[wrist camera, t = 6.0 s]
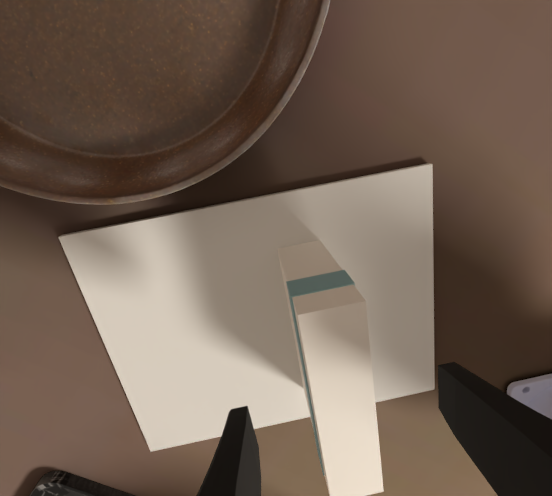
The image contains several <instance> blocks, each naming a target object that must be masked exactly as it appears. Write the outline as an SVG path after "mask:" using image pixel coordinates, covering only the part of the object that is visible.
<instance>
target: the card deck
mask: <svg viewBox="0 0 552 496" xmlns="http://www.w3.org/2000/svg"><path fill="white" fill-rule="evenodd" d="M277 250H278V255H279V261H280V266H281V271H282V277H283V282H284V287H285V292H286V298H287V303H288V308H289V314H290V319H291V324H292V330H293V335H294V340H295V346H296V351H297V356H298V361H299V367H300V372H301V377H302V383H303V388H304V392H305V396H306V400H307V405H308V409H309V413H310V417H311V421H312V425H313V429H314V434H315V440H316V445H317V451H318V455H319V459H320V463H321V467H322V472H323V475H325V479H326V483H327V487H328V492H329V496H366V495H370V494H375V493H379V492H384V491H383V480H382V469H381V459H380V448H379V437H378V426H377V416H376V405H375V394H374V383H373V373H372V362H371V351H370V341H369V330H368V319H367V308H366V300H365V299H364V298H363V296H362V295H361V294H360V293H359V291H358V290H357V289H356V287H355V283H354V281H353V280H352V279H351V277H350V276H349V275H348V274H347V272H346V271H345V270H342V269H341V267H340V266H339V265H338V263H337V262H336V261H335V259H334V258H333V257H332V255H331V254H330V253H329V251H328V250H327V249H326V247H325V246H324V245H323V243H322V242H321V241H320V240H317V241H312V242H307V243H302V244H298V245H293V246H288V247H283V248H278V249H277Z"/></svg>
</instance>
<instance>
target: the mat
mask: <svg viewBox="0 0 552 496" xmlns="http://www.w3.org/2000/svg"><path fill="white" fill-rule="evenodd" d="M58 238H59V240H60V242H61V245H62V247H63V249H64V252H65V254H66V256H67V259H68V261H69V263H70V266H71V268H72V270H73V273H74V275H75V277H76V279H77V282H78V284H79V286H80V289H81V291H82V293H83V296H84V298H85V300H86V303H87V305H88V307H89V310H90V312H91V314H92V317H93V319H94V321H95V323H96V326H97V328H98V330H99V333H100V335H101V337H102V340H103V342H104V344H105V347H106V349H107V351H108V354H109V356H110V358H111V361H112V363H113V365H114V368H115V370H116V372H117V374H118V377H119V379H120V381H121V384H122V386H123V388H124V391H125V393H126V395H127V398H128V400H129V402H130V405H131V407H132V409H133V412H134V414H135V416H136V419H137V421H138V423H139V425H140V428H141V430H142V432H143V435H144V437H145V439H146V442H147V444H148V446H149V449H150V451H151V452H152V451H156V450H161V449H165V448H170V447H174V446H179V445H183V444H188V443H193V442H197V441H202V440H206V439H211V438H215V437H220V436H222V433H223V430H224V427H225V424H226V420H227V417H228V413H229V411H230V410H231V409H234V408H239V407H244V406H248V409H249V413H250V417H251V420H252V424H253V428H254V429H256V428H261V427H266V426H270V425H275V424H279V423H284V422H288V421H293V420H297V419H302V418H307V417H310V413H309V409H308V405H307V400H306V396H305V392H304V388H303V383H302V377H301V372H300V367H299V361H298V356H297V351H296V346H295V340H294V335H293V330H292V324H291V319H290V314H289V308H288V303H287V298H286V292H285V287H284V282H283V277H282V271H281V266H280V261H279V255H278V250H277V249H278V248H283V247H288V246H293V245H298V244H302V243H307V242H312V241H317V240H320V241H321V242H322V243H323V245H324V246H325V247H326V249H327V250H328V251H329V253H330V254H331V255H332V257H333V258H334V259H335V261H336V262H337V263H338V265H339V266H340V267H341V269H342V270H345V271H346V272H347V274H348V275H349V276H350V277H351V279H352V280H353V281H354V283H355V287H356V289H357V290H358V291H359V293H360V294H361V295H362V296H363V298H364V299H365V300H366V308H367V319H368V330H369V341H370V351H371V362H372V373H373V383H374V394H375V402H380V401H384V400H389V399H393V398H398V397H402V396H407V395H411V394H416V393H421V392H425V391H430V390H434V389H435V375H434V272H433V169H432V164H429V163H427V164H422V165H417V166H412V167H407V168H401V169H396V170H391V171H386V172H381V173H376V174H371V175H366V176H360V177H355V178H350V179H345V180H340V181H335V182H330V183H325V184H319V185H314V186H309V187H304V188H299V189H294V190H289V191H284V192H278V193H273V194H268V195H263V196H258V197H253V198H248V199H243V200H237V201H232V202H227V203H222V204H217V205H212V206H207V207H202V208H196V209H191V210H186V211H181V212H176V213H171V214H166V215H161V216H155V217H150V218H145V219H140V220H135V221H130V222H125V223H120V224H114V225H109V226H104V227H99V228H94V229H89V230H84V231H79V232H73V233H68V234H63V235H61V236H59V237H58Z"/></svg>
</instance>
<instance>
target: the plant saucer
mask: <svg viewBox="0 0 552 496" xmlns="http://www.w3.org/2000/svg"><path fill="white" fill-rule="evenodd" d="M329 4H330V0H0V186H2V187H4V188H7V189H10V190H14V191H17V192H20V193H23V194H27V195H31V196H35V197H39V198H44V199H48V200H54V201H60V202H67V203H75V204H92V205H107V204H124V203H131V202H137V201H143V200H148V199H153V198H157V197H160V196H164V195H167V194H171V193H174V192H176V191H179V190H182V189H184V188H186V187H189V186H191V185H193V184H195V183H198V182H200V181H202V180H204V179H205V178H207V177H209V176H211V175H213V174H215V173H216V172H218V171H219V170H221V169H222V168H224V167H226V166H227V165H228V164H230V163H231V162H232V161H234V160H235V159H236V158H238V157H239V156H240V155H241V154H242V153H244V152H245V151H246V150H247V149H249V148H250V147H251V146H252V145H253V144H254V143H255V142H256V141H257V140H258V139H259V138H260V137H261V136H262V135H263V134H264V132H265V131H266V130H267V129H268V128H269V127H270V126H271V124H272V123H273V122H274V121H275V119H276V118H277V117H278V115H279V114H280V113H281V111H282V110H283V108H284V107H285V106H286V104H287V103H288V101H289V100H290V98H291V96H292V95H293V93H294V91H295V90H296V88H297V86H298V84H299V83H300V81H301V79H302V77H303V75H304V73H305V71H306V69H307V67H308V65H309V63H310V61H311V59H312V56H313V54H314V51H315V49H316V46H317V43H318V40H319V38H320V35H321V32H322V29H323V26H324V23H325V19H326V16H327V13H328V9H329Z"/></svg>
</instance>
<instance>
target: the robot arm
mask: <svg viewBox="0 0 552 496" xmlns="http://www.w3.org/2000/svg"><path fill="white" fill-rule="evenodd" d="M438 389H439V409H440V411H441V413H442V414H443V416H444V418H445V420H446V422H447V423H448V425H449V427H450V429H451V430H452V432H453V434H454V435H455V437H456V438H457V440H458V441H459V442H460V444H461V445H462V447H463V448H464V449H465V451H466V452H467V454H468V455H469V456H470V458H471V459H472V461H473V462H474V463H475V465H476V466H477V467H478V469H479V470H480V471H481V473H482V474H483V476H484V477H485V478H486V480H487V481H488V482H489V484H490V485H491V487H492V488H493V489H494V491H495V492H496V493H497V495H498V496H552V374H547V375H543V376H538V377H534V378H529V379H525V380H520V381H516V382H512V383H511V384H509V386H508V388H507V394H506V393H504V392H502V391H501V390H499V389H497V388H496V387H494V386H492V385H491V384H489V383H488V382H486V381H484V380H483V379H481V378H479V377H478V376H476V375H475V374H473V373H471V372H470V371H468V370H467V369H465V368H463V367H462V366H460V365H458V364H457V363H455V362H452V363H447V364H442V365H438ZM197 496H261V471H260V459H259V447H258V443H257V439H256V435H255V432H254V428H253V424H252V420H251V417H250V413H249V409H248V406H244V407H239V408H234V409H231V410H230V411H229V413H228V417H227V420H226V424H225V427H224V430H223V433H222V436H221V439H220V441H219V444H218V447H217V449H216V452H215V455H214V457H213V460H212V462H211V465H210V467H209V470H208V472H207V474H206V476H205V479H204V481H203V483H202V485H201V487H200V490H199V492H198V494H197Z"/></svg>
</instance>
